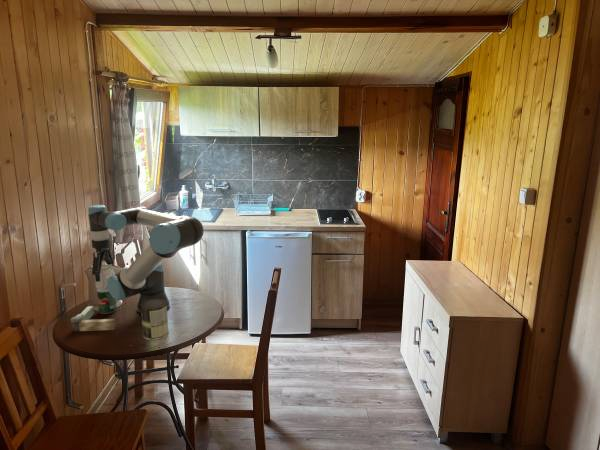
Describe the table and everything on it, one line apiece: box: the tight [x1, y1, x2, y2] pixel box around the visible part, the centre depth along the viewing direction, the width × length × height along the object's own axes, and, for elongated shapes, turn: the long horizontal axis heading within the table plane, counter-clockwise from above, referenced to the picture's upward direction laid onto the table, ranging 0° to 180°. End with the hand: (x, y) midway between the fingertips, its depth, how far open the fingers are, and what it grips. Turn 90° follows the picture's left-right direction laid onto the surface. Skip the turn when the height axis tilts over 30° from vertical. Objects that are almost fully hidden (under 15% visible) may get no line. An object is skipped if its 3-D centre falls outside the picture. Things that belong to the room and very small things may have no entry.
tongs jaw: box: [70, 305, 95, 324], centre depth 193 cm, size 18×4×5 cm, turn 4°
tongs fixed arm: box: [71, 318, 116, 332], centre depth 188 cm, size 17×3×4 cm, turn 94°
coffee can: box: [140, 299, 169, 341], centre depth 182 cm, size 10×10×14 cm
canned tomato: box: [96, 287, 118, 315], centre depth 206 cm, size 8×8×11 cm
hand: (104, 282), depth 204 cm, fingers open, 13 cm apart
